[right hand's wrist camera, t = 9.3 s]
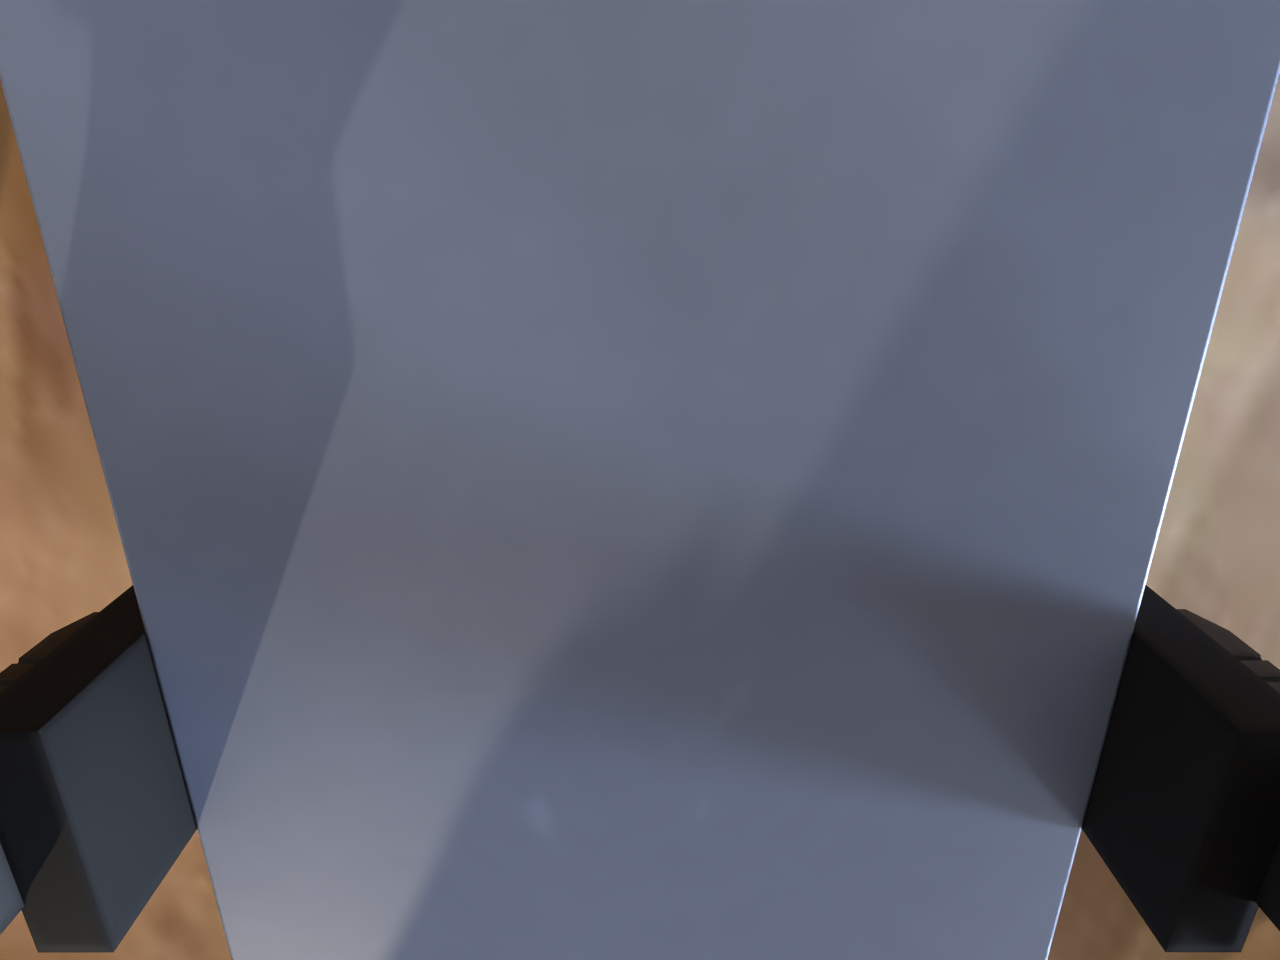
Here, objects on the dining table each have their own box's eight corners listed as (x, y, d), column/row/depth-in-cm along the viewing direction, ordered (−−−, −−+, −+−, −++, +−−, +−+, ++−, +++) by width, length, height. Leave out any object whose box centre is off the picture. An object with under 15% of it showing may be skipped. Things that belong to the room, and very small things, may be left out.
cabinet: (353, -258, 14) (-398, -1404, 4) (924, -258, 14) (1670, -1401, 4) (441, 590, 21) (241, 1006, 10) (837, 590, 21) (1037, 1006, 10)
